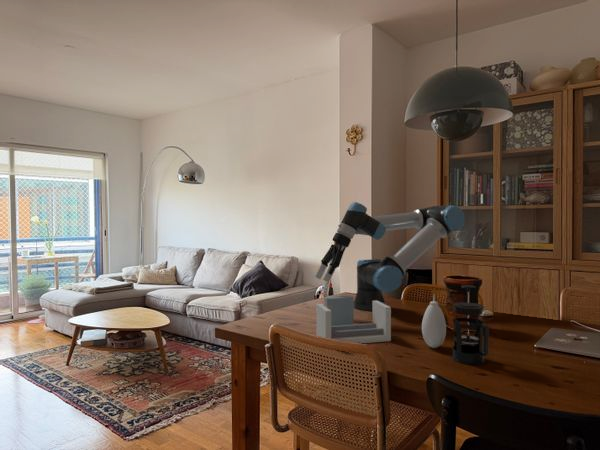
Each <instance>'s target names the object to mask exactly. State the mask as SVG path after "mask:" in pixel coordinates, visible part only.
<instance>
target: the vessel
mask: <svg viewBox="0 0 600 450" xmlns="http://www.w3.org/2000/svg"><path fill="white" fill-rule="evenodd" d="M443 283H444V285H445V289H446V298H445V299H446V300H445V310H446V311H445V313H446V319H447V321H446V322H447V324H448V325H447V324H446V328H449V329H450V330H452V331H454V330H453V329H454V325H453V319H455V318H468V315H462V314H458V313H456V312H455V309H454V308H455V307H454V306H453V304H454V303H461V302H466V303H468V292H467V288H463V287H461V286H463V285H472V286H475V287H476V288H470V292H469V303H476V304H480V302H479V301H480V300H479V292H480V288H481V286H482V285H483V278H482V277H478V276H471V275H464V274H463V275H462V274H452V275H444V276H443ZM479 316H480V315H469V318H474V319H479ZM459 323H461V324H467V325H468V322H459ZM469 325H475V323H473V322H469ZM462 330H468V329H464V328H462ZM469 330H474V329H469Z"/></svg>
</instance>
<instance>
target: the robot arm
mask: <svg viewBox="0 0 600 450" xmlns="http://www.w3.org/2000/svg"><path fill="white" fill-rule="evenodd" d="M367 211H368V208H367V207H366V206H365V205H364V204H362V203H359V202H357V201H356V202H355V201H353V202H351V203H350V205H349V206H348V208H347V210H346V212H345V214H344V216H343V218H342V220H341V222H340V224H337V225H338V228H337V230H336V232H335V234H334V235H333V237H332V241H333V242H334V244H331V245H330V248H329V249H328V250H327V252H326V253H325V255H324V256H323V258H322V259H321V261H320V262H321V263H320V266H319V268H318V270H317V271H316V274H315V275H314V277H315V278H316V279H317V280H321V279H322V281H324V282H327V283H330V281H331V279H332V276H333V275H334V273H335V271H336V269H337V268H339V267H340V265H341V262H342V259H343V257H344V252H345V250H346V248H349V246H350V244H351V241H352V240H353V238H354V237H355V235H361V236H369V237H370V238H371V239H375V240H380V239H382V238H383V237H384V235H385V234H386V232H388V231H389V232H390V231H398V230H405V229H413V228H415V229H416V230H419V231H418V232H417V233H416V234H415V235H413V237H412V238H411V237H410V239H409V240H408V241H407V242H406V243H405V244H404V245H402V246H401V247H400V248H399V249H398V250H397V251H396V252H395V253H394V254H393V255H391V256H386V257H384V258H383V259H379V258H376V259H375V258H374V259H370V258H369V259H359V260H358V261H357V262H356V264H357V265H356V287H357V288H356V293H355V296H354V309H356V310H361V311H372V301H379V302H381V303H383V304H385V305H387V304H386V300H385V297H384V294H383V292H387V293H388V292H389V293H390V292H394V291H396V290H398V288H399V287H401V285H402V283H403V282H402V280H403V279H404V277H405V275H406V270H408V268H410V267H411V266H412V264H414V263H416V261H417V260H418V259H420V257H421V256H423V254H424V253H426V252H427V251H428V250H429V249H431V247H432V246H433V245H435V243H436V242H438V240H439V239H446V238H447V237H448V236H449V235H450V234H451V233H452V232H458V231H460V230H462V229H463V227H464V225H465V217H466V216H465V213H464V212H463V210H462V208H461V207H459V206H457V205H451V204H450V205H433V206H428V207H424V208H421V209H419V208H418V209H414V210H413V212H412V211H411V212H403V213H395V214H394V213H393V214H386V215H378V216H370V215H369V214H367ZM326 269H327V270H326ZM325 271H326V272H325ZM324 273H325V274H324Z"/></svg>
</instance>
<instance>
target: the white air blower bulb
mask: <svg viewBox="0 0 600 450" xmlns="http://www.w3.org/2000/svg"><path fill="white" fill-rule="evenodd" d="M432 299H433V300H432V301H430V302H429V305H428V306H427V308H426V309H425V310H424V311H425V312H424V314H423V316H422V317H423V318H422V322H421V333H422V337H423V340H424V342H425V344H427V345H428V347H430V348H431V349H437V348H439V347H440V346H441V345H443V343H444V341H445V338H446V334H447V326H446V325H447V324H446V323H447V321H446V319H445V315H444V313H443V311H442V308H441V307H440V306H439V302H438V301H436V300H435V299H436V298H435V295H433V298H432Z"/></svg>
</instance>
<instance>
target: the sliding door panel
mask: <svg viewBox="0 0 600 450" xmlns="http://www.w3.org/2000/svg"><path fill="white" fill-rule="evenodd" d="M354 300H355V296H352V295H340V296H339V295H338V296H324V301H323V302H324V304H323V305H324V306H325V307H327V308H328V309H329V310H331V326H337V325H352V324H355V323H354V322H355V319H354V318H355V317H354V316H355V314H354V313H355V312H354V311H355V308H354Z"/></svg>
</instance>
